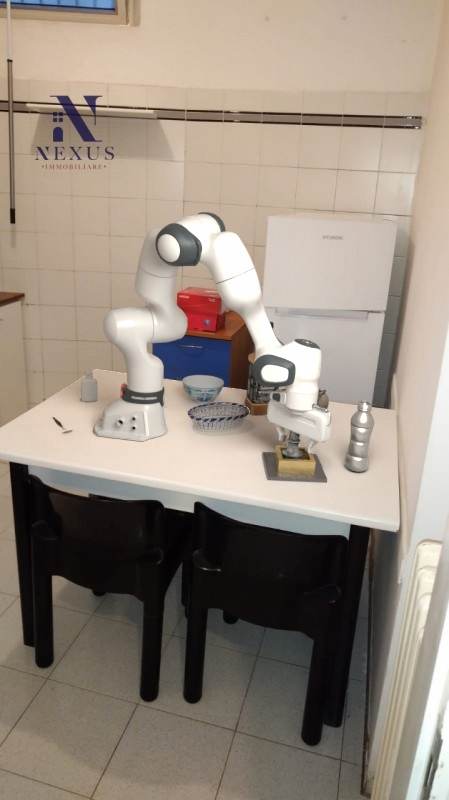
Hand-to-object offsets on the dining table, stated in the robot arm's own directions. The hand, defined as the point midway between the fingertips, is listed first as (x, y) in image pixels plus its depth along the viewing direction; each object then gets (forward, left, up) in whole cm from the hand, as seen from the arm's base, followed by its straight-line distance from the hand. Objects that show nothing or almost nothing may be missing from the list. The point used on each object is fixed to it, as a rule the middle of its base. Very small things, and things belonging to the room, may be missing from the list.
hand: (295, 446), depth 159 cm
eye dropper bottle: (-66, +48, -7) cm, 82 cm away
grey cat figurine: (+12, +39, -7) cm, 41 cm away
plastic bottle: (+18, +1, -7) cm, 19 cm away
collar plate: (0, 0, -7) cm, 7 cm away
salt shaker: (-1, 0, -6) cm, 6 cm away
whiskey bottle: (-5, +46, -7) cm, 47 cm away
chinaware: (-26, +53, -7) cm, 59 cm away
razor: (-70, +23, -7) cm, 74 cm away
